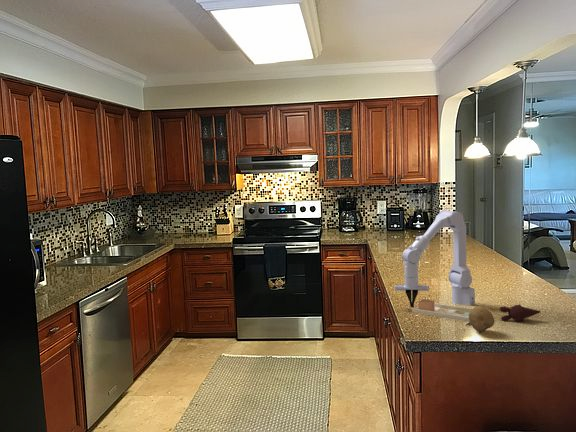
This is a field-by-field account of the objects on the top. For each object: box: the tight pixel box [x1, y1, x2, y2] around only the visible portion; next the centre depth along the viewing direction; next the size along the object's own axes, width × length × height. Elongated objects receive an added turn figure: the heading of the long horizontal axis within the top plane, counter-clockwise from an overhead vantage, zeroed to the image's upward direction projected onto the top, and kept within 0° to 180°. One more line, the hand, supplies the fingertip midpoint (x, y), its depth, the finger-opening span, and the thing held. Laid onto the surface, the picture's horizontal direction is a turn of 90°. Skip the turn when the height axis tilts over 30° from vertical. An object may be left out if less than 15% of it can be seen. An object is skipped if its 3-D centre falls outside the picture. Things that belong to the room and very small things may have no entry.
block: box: [417, 298, 436, 311], centre depth 208 cm, size 5×5×4 cm
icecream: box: [499, 303, 541, 322], centre depth 194 cm, size 7×7×15 cm
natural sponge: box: [469, 305, 495, 333], centre depth 183 cm, size 9×9×10 cm
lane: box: [411, 302, 473, 327], centre depth 204 cm, size 26×13×4 cm, turn 49°
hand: (412, 306), depth 212 cm, fingers closed
